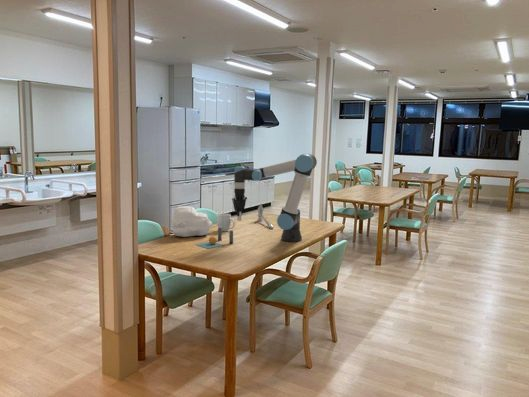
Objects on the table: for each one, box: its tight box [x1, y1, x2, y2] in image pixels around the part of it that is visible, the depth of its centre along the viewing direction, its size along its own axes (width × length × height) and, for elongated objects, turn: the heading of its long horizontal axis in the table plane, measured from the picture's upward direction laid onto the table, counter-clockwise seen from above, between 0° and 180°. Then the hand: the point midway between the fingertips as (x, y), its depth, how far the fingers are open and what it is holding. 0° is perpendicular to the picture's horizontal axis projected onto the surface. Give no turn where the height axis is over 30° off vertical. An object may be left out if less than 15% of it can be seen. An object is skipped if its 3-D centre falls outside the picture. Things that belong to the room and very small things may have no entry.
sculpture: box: [171, 205, 213, 238], centre depth 330 cm, size 26×22×30 cm
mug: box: [216, 212, 236, 232], centre depth 346 cm, size 15×11×13 cm
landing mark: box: [195, 241, 224, 250], centre depth 301 cm, size 14×14×1 cm
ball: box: [208, 235, 218, 244], centre depth 303 cm, size 6×6×6 cm
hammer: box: [257, 203, 274, 230], centre depth 374 cm, size 5×16×40 cm
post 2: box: [228, 230, 234, 245], centre depth 306 cm, size 3×3×9 cm
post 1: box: [217, 227, 223, 242], centre depth 314 cm, size 3×3×9 cm
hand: (239, 220), depth 318 cm, fingers closed
